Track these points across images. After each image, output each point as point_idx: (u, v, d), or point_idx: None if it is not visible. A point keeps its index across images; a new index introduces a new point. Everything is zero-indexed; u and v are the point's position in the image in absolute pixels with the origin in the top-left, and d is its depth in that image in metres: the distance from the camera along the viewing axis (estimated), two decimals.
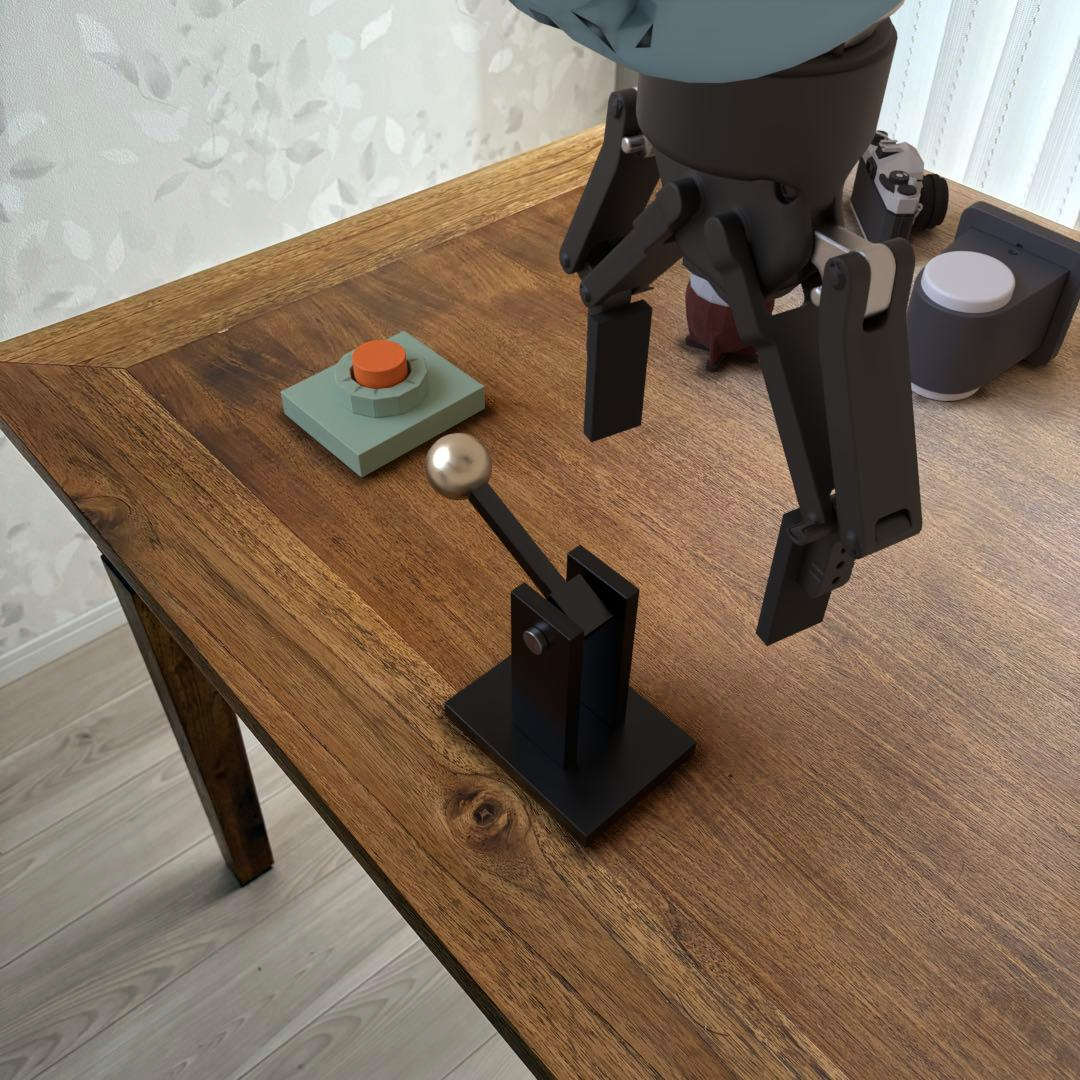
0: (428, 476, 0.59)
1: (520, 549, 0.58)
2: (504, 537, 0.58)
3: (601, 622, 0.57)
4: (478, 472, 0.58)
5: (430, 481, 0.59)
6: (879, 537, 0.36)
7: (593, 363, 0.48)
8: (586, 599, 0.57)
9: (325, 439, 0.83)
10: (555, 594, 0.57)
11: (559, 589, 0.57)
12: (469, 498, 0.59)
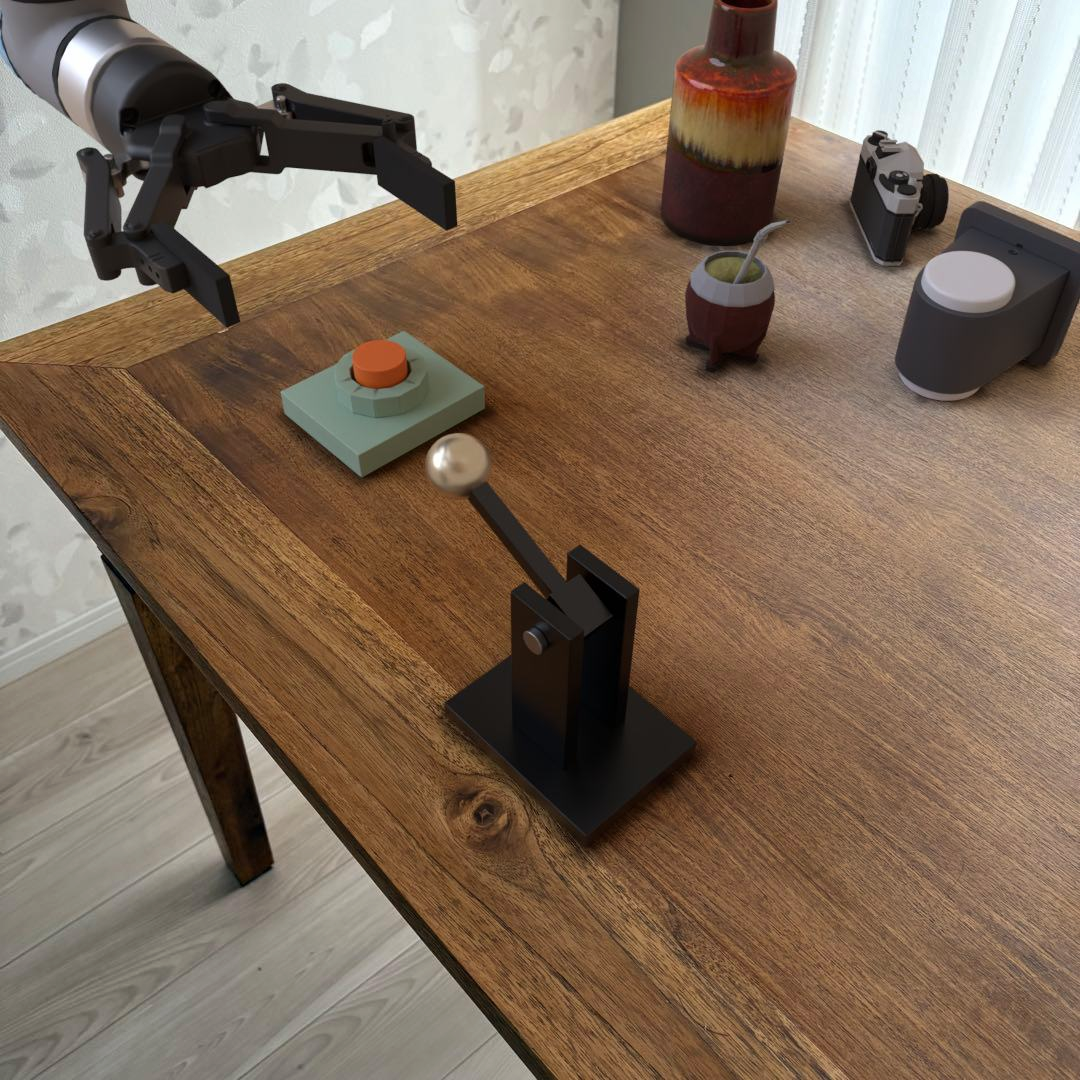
0: (428, 476, 0.59)
1: (520, 549, 0.58)
2: (504, 537, 0.58)
3: (601, 622, 0.57)
4: (478, 472, 0.58)
5: (430, 481, 0.59)
6: None
7: (181, 239, 0.55)
8: (586, 599, 0.57)
9: (325, 439, 0.83)
10: (555, 594, 0.57)
11: (559, 589, 0.57)
12: (469, 498, 0.59)
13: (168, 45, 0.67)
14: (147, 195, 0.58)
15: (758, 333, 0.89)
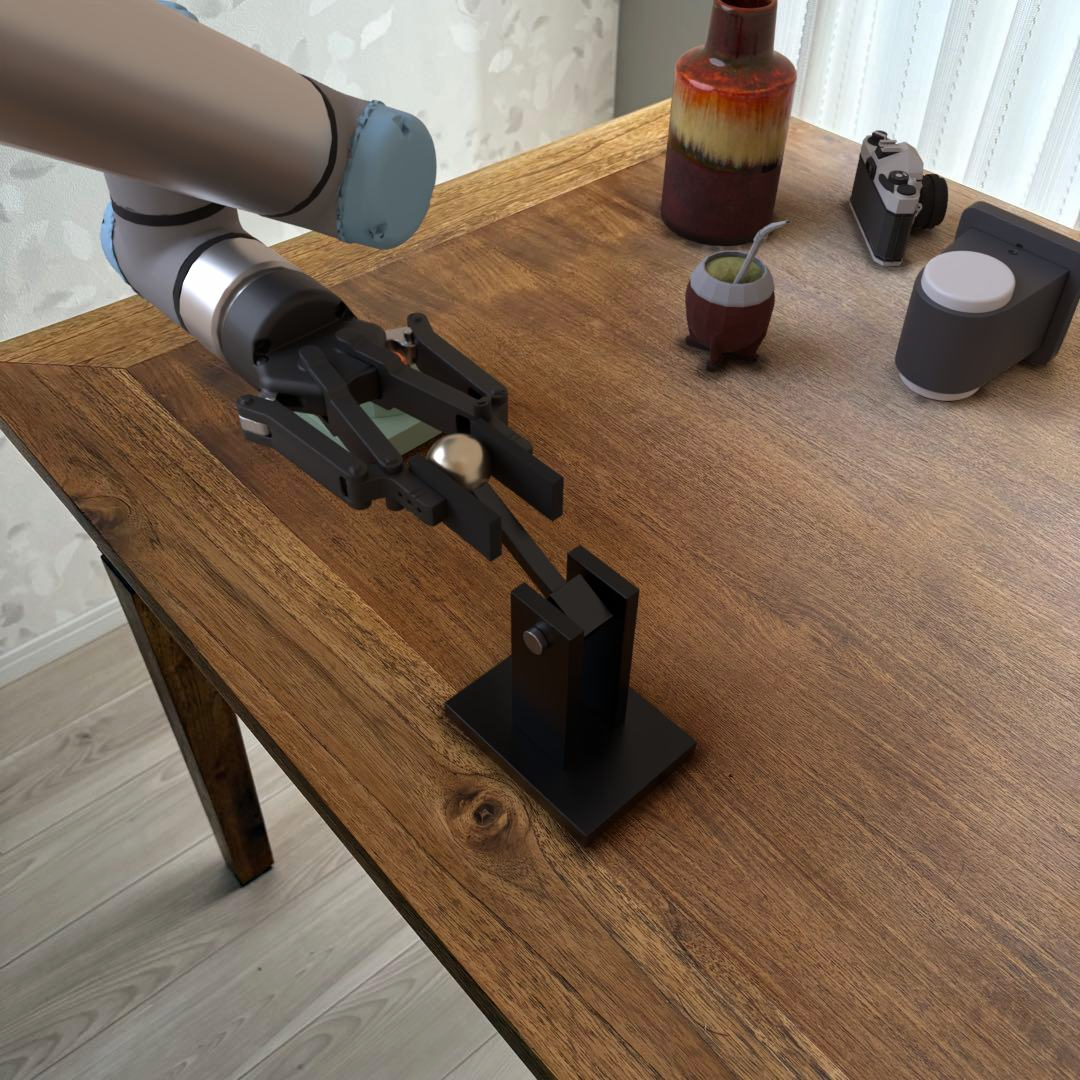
0: None
1: (520, 549, 0.58)
2: (504, 537, 0.58)
3: (601, 622, 0.57)
4: (478, 472, 0.58)
5: None
6: None
7: (441, 476, 0.57)
8: (586, 599, 0.57)
9: None
10: (555, 594, 0.57)
11: (559, 589, 0.57)
12: None
13: (290, 265, 0.68)
14: (364, 428, 0.60)
15: (758, 333, 0.89)
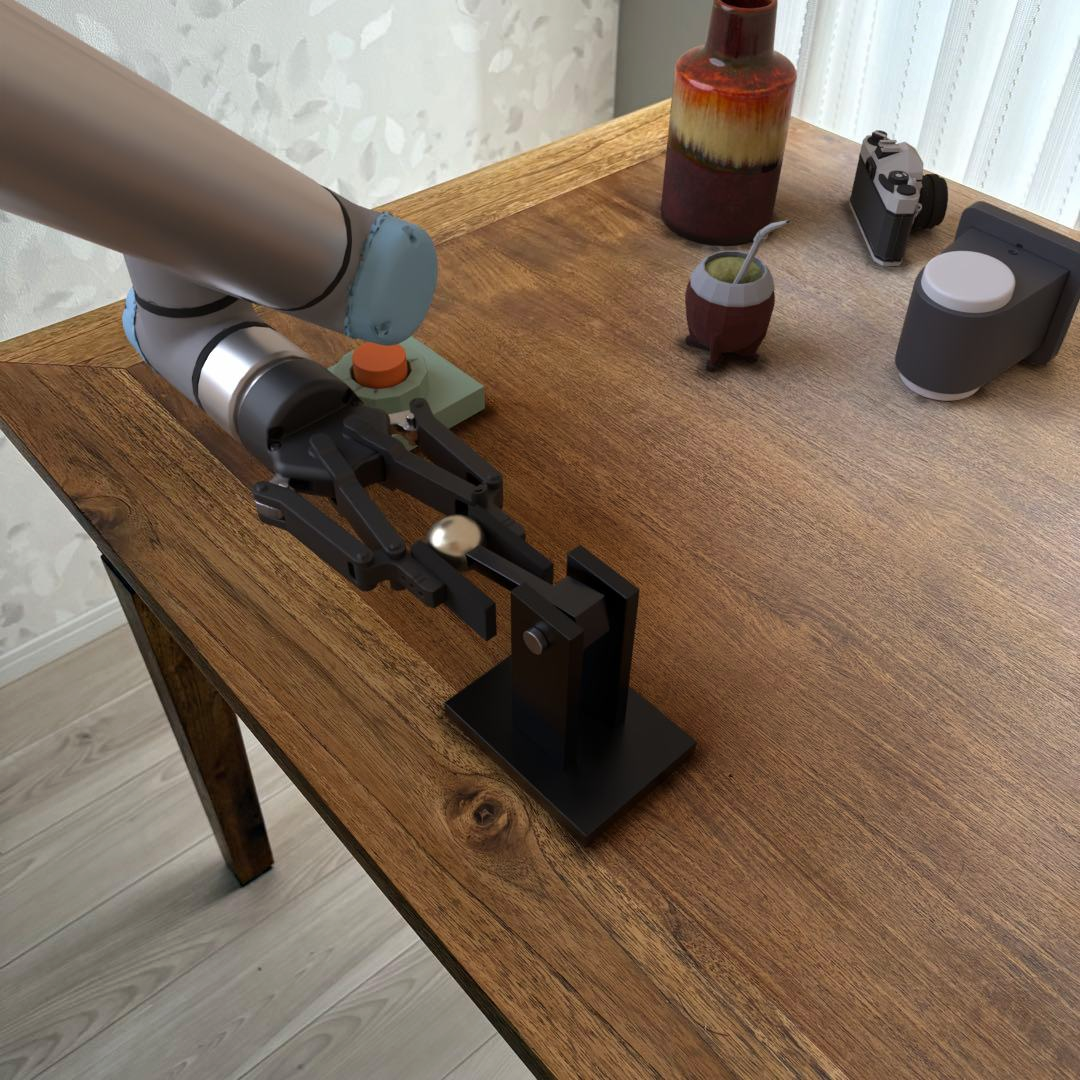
0: None
1: (512, 579, 0.60)
2: (499, 577, 0.61)
3: (592, 602, 0.56)
4: (464, 534, 0.63)
5: None
6: None
7: (441, 562, 0.62)
8: (575, 590, 0.57)
9: None
10: (543, 594, 0.58)
11: (547, 590, 0.58)
12: (468, 564, 0.63)
13: (301, 353, 0.73)
14: (370, 515, 0.65)
15: (758, 333, 0.89)
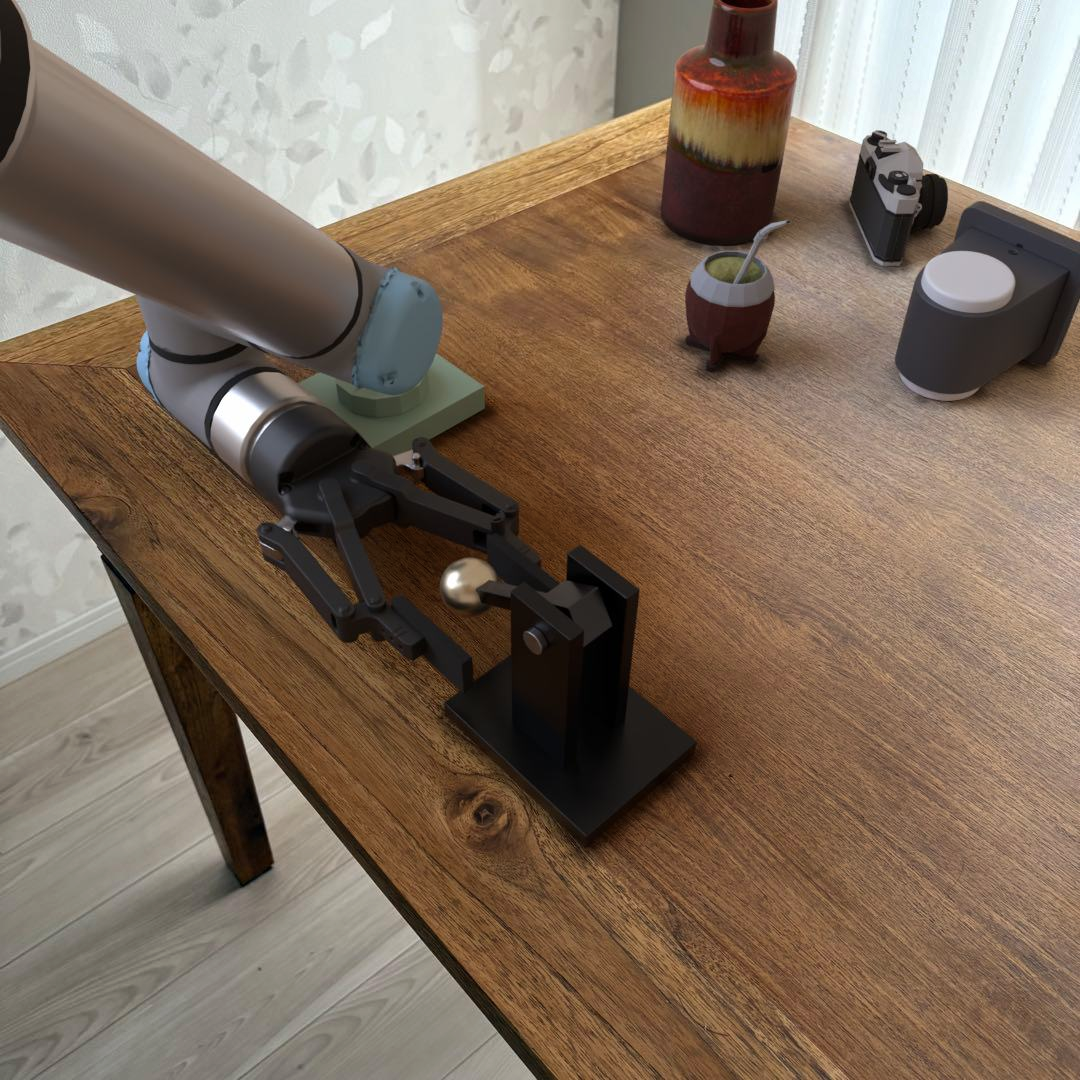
0: (444, 602, 0.65)
1: None
2: (506, 601, 0.62)
3: (586, 594, 0.56)
4: (473, 571, 0.64)
5: (446, 605, 0.65)
6: None
7: (420, 616, 0.64)
8: (570, 589, 0.58)
9: None
10: None
11: (545, 594, 0.58)
12: (480, 599, 0.64)
13: (310, 398, 0.76)
14: (360, 565, 0.67)
15: (758, 333, 0.89)
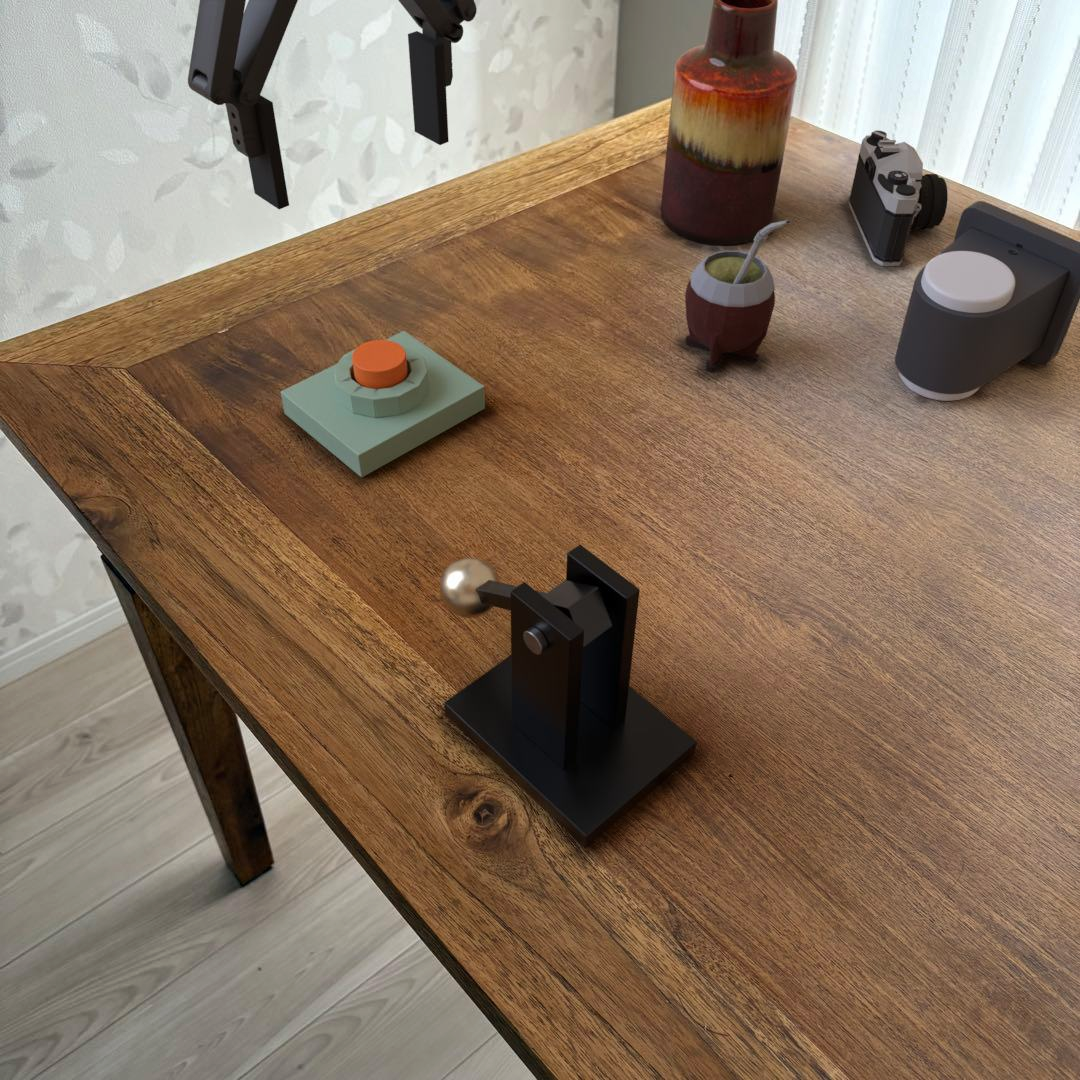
0: (444, 602, 0.65)
1: None
2: (506, 601, 0.62)
3: (586, 594, 0.56)
4: (473, 571, 0.64)
5: (446, 605, 0.65)
6: None
7: (274, 139, 0.65)
8: (570, 589, 0.58)
9: (325, 439, 0.83)
10: None
11: (545, 594, 0.58)
12: (480, 599, 0.64)
13: None
14: (269, 44, 0.62)
15: (758, 333, 0.89)
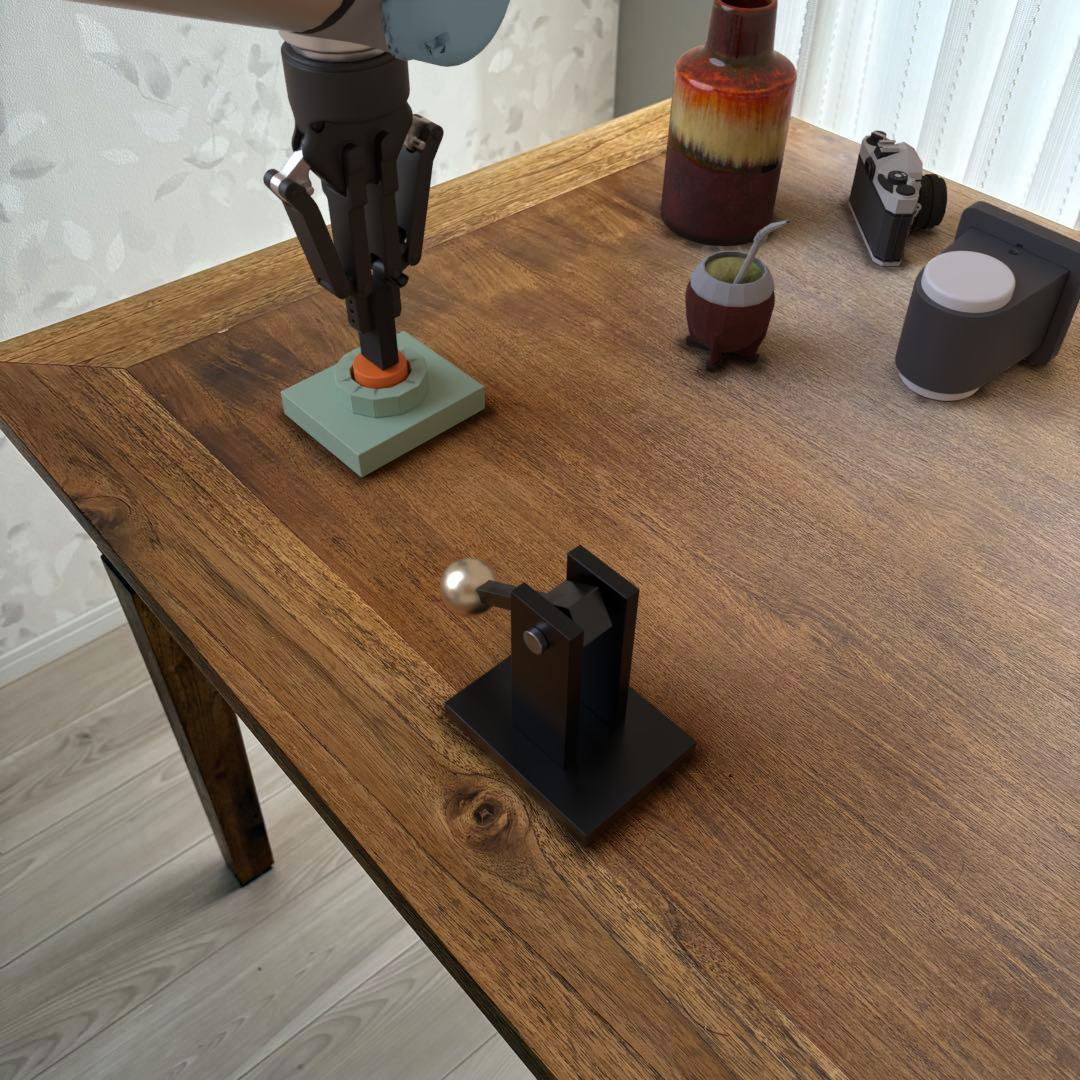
0: (444, 602, 0.65)
1: None
2: (506, 601, 0.62)
3: (586, 594, 0.56)
4: (473, 571, 0.64)
5: (446, 605, 0.65)
6: None
7: (383, 318, 0.79)
8: (570, 589, 0.58)
9: (325, 439, 0.83)
10: None
11: (545, 594, 0.58)
12: (480, 599, 0.64)
13: None
14: (360, 251, 0.75)
15: (758, 333, 0.89)
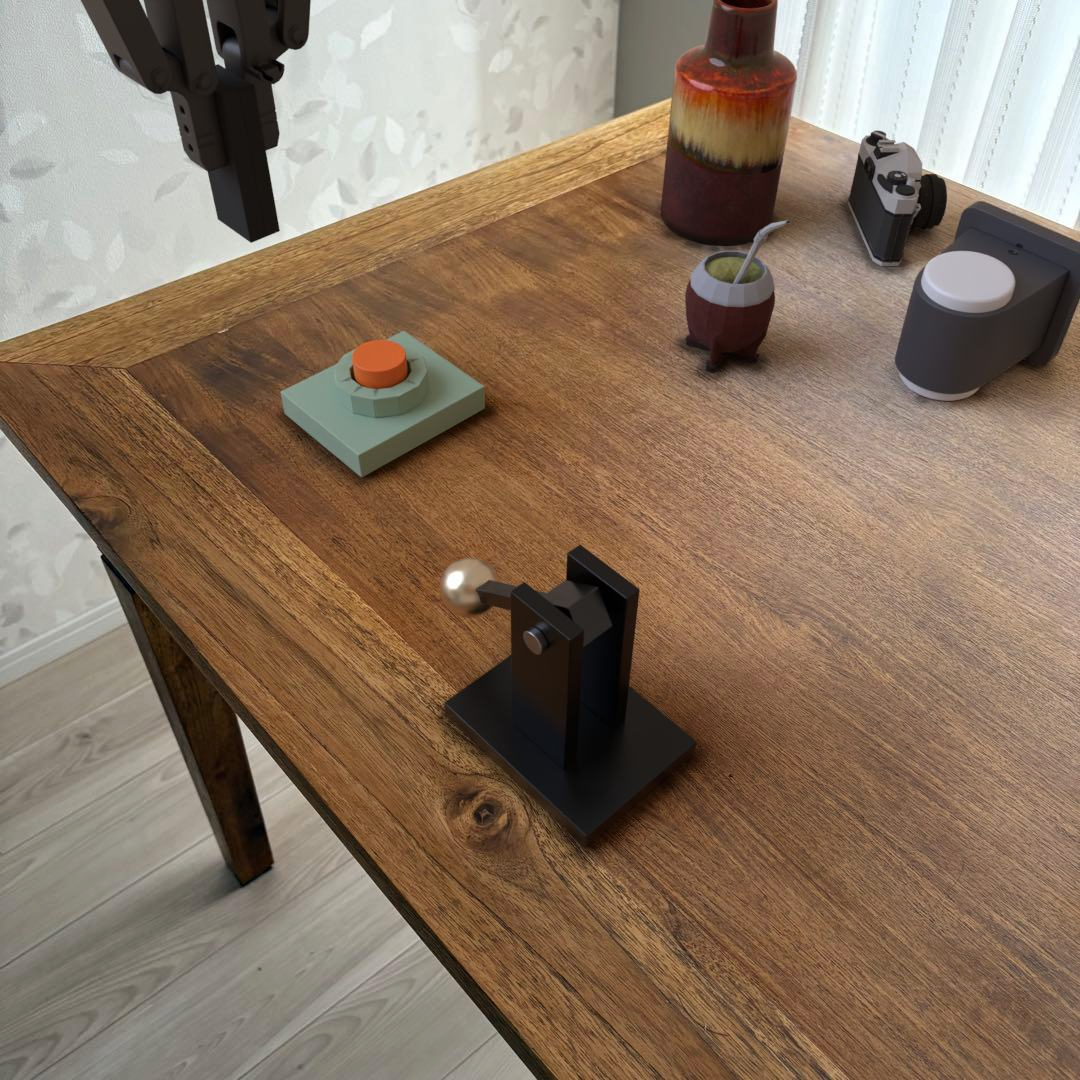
0: (444, 602, 0.65)
1: None
2: (506, 601, 0.62)
3: (586, 594, 0.56)
4: (473, 571, 0.64)
5: (446, 605, 0.65)
6: None
7: (243, 144, 0.45)
8: (570, 589, 0.58)
9: (325, 439, 0.83)
10: None
11: (545, 594, 0.58)
12: (480, 599, 0.64)
13: None
14: (186, 0, 0.41)
15: (758, 333, 0.89)
